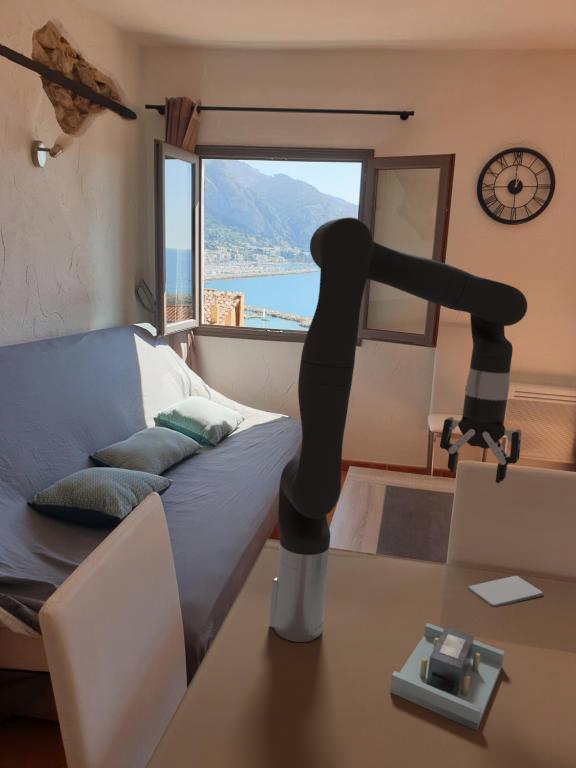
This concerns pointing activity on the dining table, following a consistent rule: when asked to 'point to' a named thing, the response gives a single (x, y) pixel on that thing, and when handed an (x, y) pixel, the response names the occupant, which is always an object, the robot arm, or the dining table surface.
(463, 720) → the tray
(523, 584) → the smartphone
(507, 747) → the dining table surface
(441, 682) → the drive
